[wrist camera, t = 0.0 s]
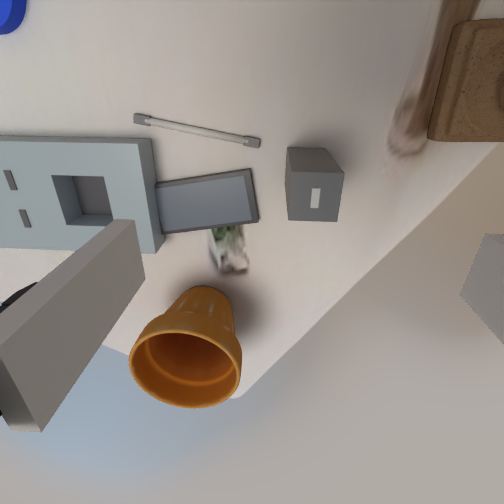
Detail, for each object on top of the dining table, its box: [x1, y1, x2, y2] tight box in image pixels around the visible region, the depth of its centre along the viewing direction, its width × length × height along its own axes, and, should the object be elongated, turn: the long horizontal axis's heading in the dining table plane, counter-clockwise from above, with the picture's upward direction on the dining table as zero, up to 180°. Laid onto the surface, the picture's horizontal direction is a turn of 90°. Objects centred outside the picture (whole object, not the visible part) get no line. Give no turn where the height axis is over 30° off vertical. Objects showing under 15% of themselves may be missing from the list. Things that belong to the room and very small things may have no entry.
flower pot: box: [129, 286, 242, 408], centre depth 44 cm, size 14×14×13 cm
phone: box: [154, 168, 259, 235], centre depth 40 cm, size 7×14×1 cm, turn 99°
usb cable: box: [134, 113, 260, 148], centre depth 36 cm, size 15×1×1 cm, turn 80°
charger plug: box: [285, 147, 344, 222], centre depth 32 cm, size 4×4×12 cm
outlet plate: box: [0, 136, 165, 254], centre depth 39 cm, size 14×22×4 cm, turn 90°
